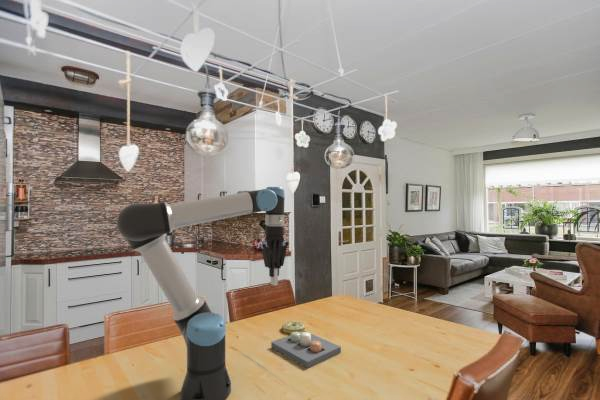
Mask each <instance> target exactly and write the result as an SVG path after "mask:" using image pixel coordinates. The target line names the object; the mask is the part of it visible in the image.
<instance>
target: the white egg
mask: <svg viewBox="0 0 600 400" xmlns="http://www.w3.org/2000/svg"><path fill="white" fill-rule="evenodd" d="M310 333H311V332H309V333H308V331H306V332H303V333H300V345H301V346H303V347H308V346H310V342H311V334H312V333H311V334H310Z"/></svg>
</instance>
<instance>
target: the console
mask: <svg viewBox="0 0 600 400" xmlns="http://www.w3.org/2000/svg"><path fill="white" fill-rule="evenodd" d="M303 332H308V331H306V330H305V329H304V330H303V331H300V333H303ZM308 333H310V334H311V342H312V341H320V342H321V347H322V352H319V353H317V354H315V353H313V352H311V351H310V346H308V347H303V346H301V345H300V342H298V343H296V344H295V343H293V342H291V334H289V335H286V336H284V337H282V338H279V339H276V340H273V341H271V348H272V349H274V350H275V351H276V352H278V353H280V354H282V355H284V356H285V357H287V358H289V359H291V360H293V361H294V362H296V363H298V364H300V365H301V366H303V367H305V368H307V369H310V368H312V367H313V366H315V365H318V364H320V363H323V362H324V361H326V360H329V359H331V358H332V357H334V356H337V355H338V354H341V353H342V346H340V345H338V344H335V343H333V342H331V341H328V340H327V339H325V338H323V337H320V336H318V335H316V334H313V333H311V332H308Z"/></svg>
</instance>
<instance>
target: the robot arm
mask: <svg viewBox="0 0 600 400" xmlns="http://www.w3.org/2000/svg"><path fill="white" fill-rule="evenodd" d="M285 199H286V197H285V189H284V187H282V186H267V187H266V188H262V189H256V190H239V191H237V192H236V193H233V194H226V195H221V196H214V197H213V196H212V197H207V198H202V199H194V200H191V201H190V200H189V201H184V202H178V203H172V204H171V203H170V204H169V203H168V202H166V201H164V202H163V201H162V202H154V203H145V202H135V203H134V202H133V203H132V204H129V205H126V206H125V207H124V208H122V209H121V210H120V212H119V213H118V215H117V218H116V227H117V230H118V233H119V235H121V236H122V237H123V238H125V240H126V242H127V243H128V245H129V246H130V249H132V251H134V252H137V253H140V255H141V257H142V258H143V260H144V262H145V263H146V265H147V267H148V268H149V270H150V272H151V273H152V275H153V277H154V278H155V281H156V282H157V284H158V286H159V287H160V288H161V291H162V292H163V294H164V296H165V297H166V300H168V303H169V304H170V306H171V307H172V309H173V311H174V313H173V316H172V320H173V321H174V322H175V325H176V326H177V327H178V329H179V332H180V333H181V335H182V336H183V340H184V344H185V345H186V373H185V376H184V379H183V383H182V386H181V388H180V399H181V400H226V399H227V398H228V397H229V396H230V394H231V391H232V382H231V379H230V378H231V377H230V375H229V372H228V370H227V366H226V332H227V326H226V321H225V319H224V317H223V316H222V315H221V314H219V313H214V312H212V310H211V309H210V307H209V305H208V303H207V302H206V300H205V298H203V297H199V296H198V295H197V293H196V291H195V290H194V288H193V286H192V284H191V283H190V281H189V278H188V277H187V276H186V274H185V272H184V270H183V267H181V265H180V263H179V261H178V260H177V258H176V256H175V254H174V253H173V251H172V248H171V247H170V245H169V244H168V242H167V240H166V237H167V234H171V233H173V231H174V230H175V229H179V228H180V229H181V228H184V227H189V226H195V225H199V224H205V223H210V222H214V221H221V220H224V219H225V220H226V219H229V218H234V217H239V216H244V215H245V216H246V215H249V214H255V213H259V212H265V215H264V216H265V217H264V218H265V222H264V225H266V226H265V228H264V229H265V230H264V235H265V238H264V241H263V242H262V243H259V247H260V249H261V253H262V257H263V263H264V267H265V268H268V271H269V273H268V274H269V275H268V276H269V277H270V285H272V286H278V279H279V278H278V277H279V275H280V269H281V267H283V266H284V263H285V259H286V253H287V249H288V246H289V242H288V241H286V240H285V238H284V235H285V226H284V225H285Z"/></svg>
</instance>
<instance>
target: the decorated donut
mask: <svg viewBox="0 0 600 400" xmlns="http://www.w3.org/2000/svg"><path fill="white" fill-rule="evenodd" d="M305 328H306V326H305V325H304V323H302V322H301V321H298V320H291V321H287V322H284V323H283V324H282V325H281V330H282V332H284V333H285V334H289V335H291V333H292V332H300V331H303V330H304V331H305Z"/></svg>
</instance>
